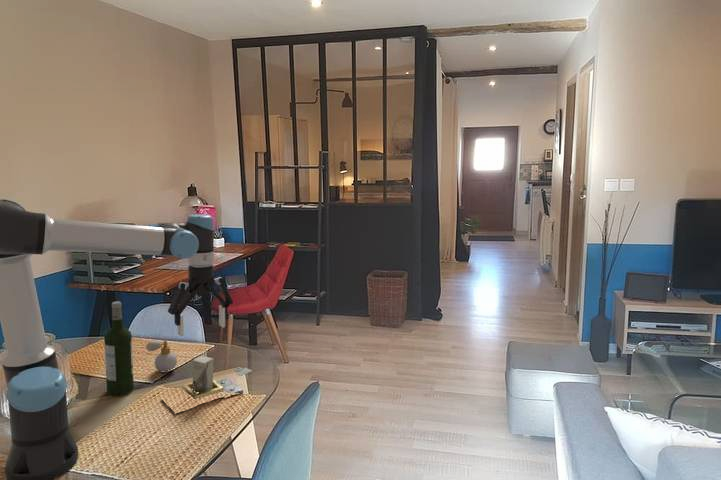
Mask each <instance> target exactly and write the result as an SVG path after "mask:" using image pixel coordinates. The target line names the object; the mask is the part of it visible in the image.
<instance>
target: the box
mask: <svg viewBox="0 0 721 480" xmlns="http://www.w3.org/2000/svg"><path fill="white" fill-rule="evenodd" d="M213 379H214V358H212V357H208V356H204V355H200V356H198V357H196V358H194V359H193V360H192V382H193V391H195V392H199V393H202V392H205V391H208V390H212V389H213Z"/></svg>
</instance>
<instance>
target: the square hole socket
mask: <svg viewBox="0 0 721 480" xmlns="http://www.w3.org/2000/svg"><path fill="white" fill-rule="evenodd" d="M192 389H193V381H192V382H188V383H185V384H182V391H183V390H185V391H186V392H187V393H188V394H189V395H191V396H192V397H193V398H194V399H197V398H201V397H205V396H209V395H212V394H215V393H219V392H232V393H241V394H243V393H244V390H243V388H241V387H240V386H238V385H237V384H236V383H234V382H233V381H232V380H231V379H229V378H228V377H226V378H222V379H219V380H216V379H214V378H213V389H212V390H208V391H205V392H202V393H198V394H196V393H195V392H194V391H193V390H192Z"/></svg>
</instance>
